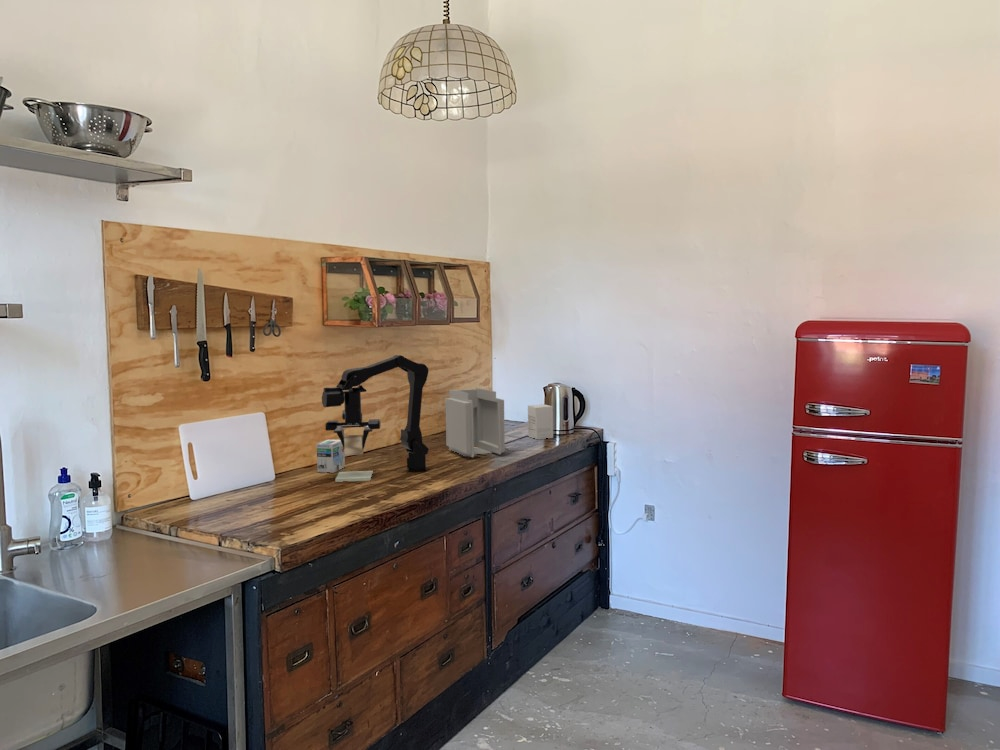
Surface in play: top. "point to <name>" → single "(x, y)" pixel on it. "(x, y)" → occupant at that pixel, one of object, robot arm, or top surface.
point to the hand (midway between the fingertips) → (354, 448)
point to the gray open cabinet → (475, 422)
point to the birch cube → (353, 444)
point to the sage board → (354, 476)
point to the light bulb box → (330, 456)
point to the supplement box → (540, 421)
